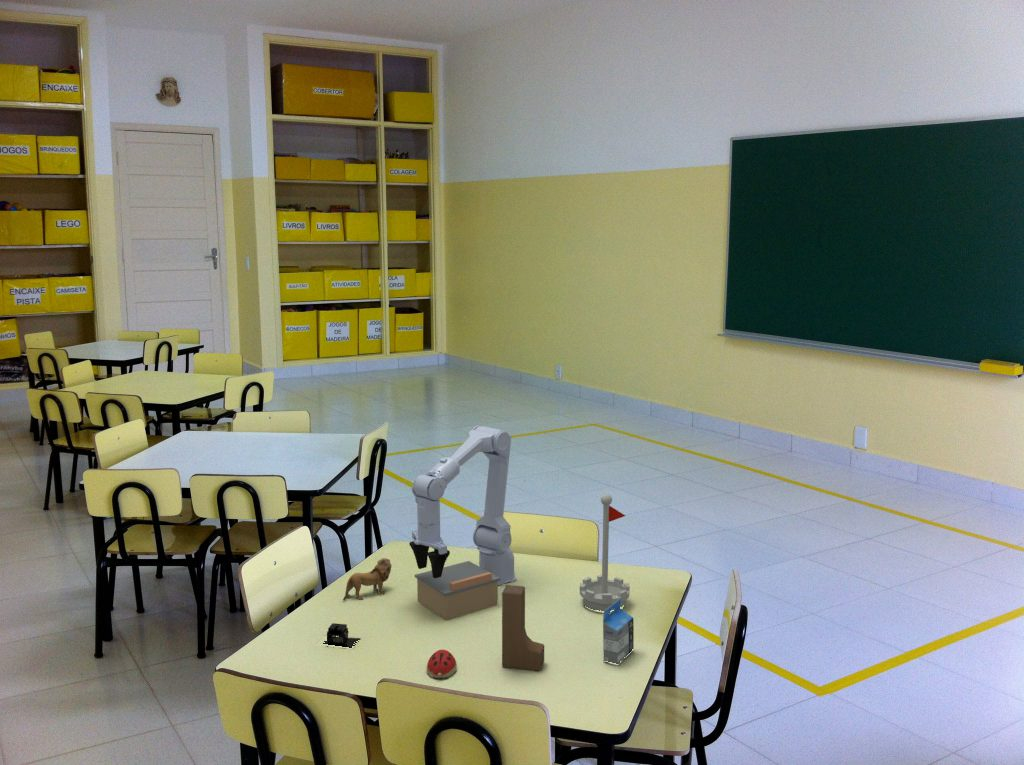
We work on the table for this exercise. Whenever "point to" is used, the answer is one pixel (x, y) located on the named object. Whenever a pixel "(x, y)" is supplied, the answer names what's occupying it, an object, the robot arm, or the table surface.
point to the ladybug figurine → (441, 664)
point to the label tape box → (617, 634)
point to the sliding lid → (458, 578)
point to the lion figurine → (370, 578)
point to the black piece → (343, 638)
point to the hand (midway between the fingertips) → (429, 572)
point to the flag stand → (605, 571)
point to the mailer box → (458, 599)
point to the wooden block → (518, 633)
